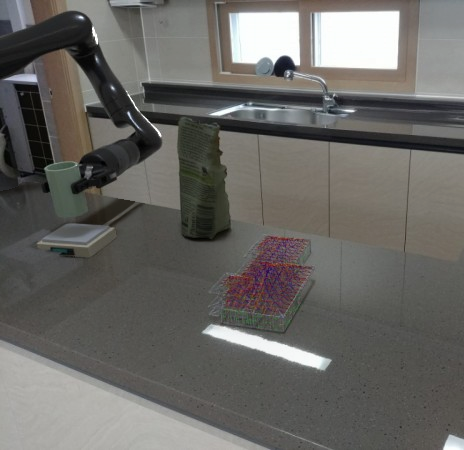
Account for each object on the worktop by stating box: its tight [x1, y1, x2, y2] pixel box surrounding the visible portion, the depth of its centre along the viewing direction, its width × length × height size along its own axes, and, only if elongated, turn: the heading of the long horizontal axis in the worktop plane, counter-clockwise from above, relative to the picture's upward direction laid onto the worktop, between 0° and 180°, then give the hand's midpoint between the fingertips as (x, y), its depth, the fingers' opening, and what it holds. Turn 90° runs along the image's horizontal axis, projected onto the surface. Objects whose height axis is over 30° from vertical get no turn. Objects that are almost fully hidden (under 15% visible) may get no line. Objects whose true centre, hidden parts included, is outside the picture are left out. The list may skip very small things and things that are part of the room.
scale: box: [36, 222, 118, 259], centre depth 113 cm, size 12×10×3 cm
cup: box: [43, 160, 89, 219], centre depth 109 cm, size 6×6×10 cm
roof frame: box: [207, 233, 316, 333], centre depth 94 cm, size 30×15×5 cm, turn 162°
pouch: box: [176, 116, 232, 240], centre depth 112 cm, size 11×12×25 cm
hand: (58, 189), depth 106 cm, fingers closed on cup, 6 cm apart
